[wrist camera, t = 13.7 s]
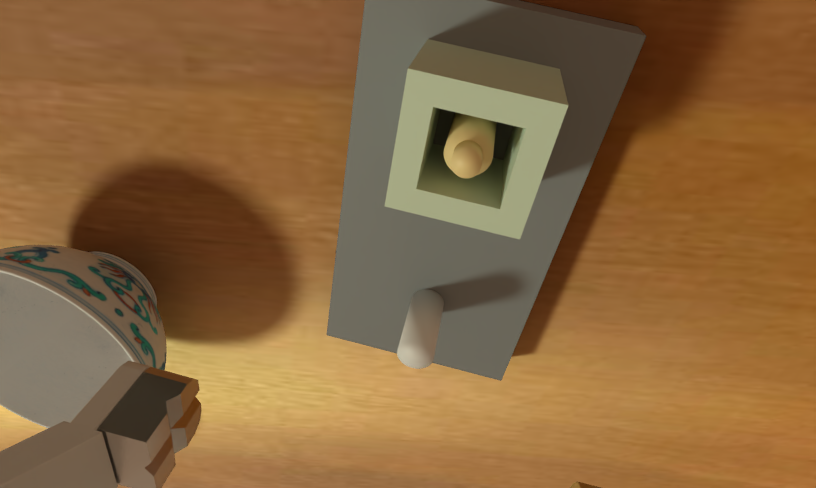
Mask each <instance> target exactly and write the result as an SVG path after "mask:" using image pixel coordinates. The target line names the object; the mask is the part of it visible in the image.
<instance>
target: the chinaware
mask: <svg viewBox="0 0 816 488" xmlns="http://www.w3.org/2000/svg"><path fill="white" fill-rule="evenodd" d="M127 361H132V362H136V363H140V364H144V365H147V366H151V367H154V368H157V369H161V370H165V363H166V337H165V331H164V326H163V323H162V320H161V317H160V314H159V312H158V309H157V298H156V294H155V292H154V289H153V287H152V285H151V284H150V282H149V281H148V280H147V278H146V277H145V276H144V275H143V274H142V273H141V272H140V271H139V270H138V269H137V268H136V267H134V266H133V265H132V264H130V263H129V262H127V261H125V260H124V259H122V258H120V257H117V256H115V255H112V254H109V253H105V252H97V251H94V252H86V251H82V250H78V249H74V248H68V247H62V246H52V245H26V246H16V247H10V248H4V249H0V405H1V406H3V407H5V408H6V409H8V410H10V411H12V412H14V413H15V414H17V415H19V416H21V417H23V418H25V419H27V420H29V421H32V422H34V423H36V424H39V425H41V426H44V427H46V428H50V427H52V426H54V425H57V424H59V423H61V422H63V421H65V422H69V423H70V422H71V421H72V420H73V419H74V418H75V417H76V416H77V414H78V413H79V412H80V411H81V410H82V409H83V408H84V406H85V405H86V404H87V403H88V402H89V401H90V400H91V398H92V397H93V396H94V395H95V394H96V393H97V392H98V391H99V389H100V388H101V387H102V386H103V385H104V384H105V383H106V381H107V380H108V379H109V378H110V377H111V376H112V375H113V373H114V372H115V371H116V370H117V369H118V368H119V367H120V366H121V365H123V364H124V363H126V362H127Z"/></svg>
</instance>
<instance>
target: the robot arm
mask: <svg viewBox="0 0 816 488" xmlns="http://www.w3.org/2000/svg"><path fill="white" fill-rule="evenodd" d="M198 391H199V384H198V380H196V379H193V378H189V377H186V376H182V375H178V374H175V373H171V372H168V371H164V370H161V369H157V368H154V367H151V366H147V365H144V364H140V363H136V362H132V361H127V362H126V363H124V364H123V365H121V366H120V367H119V368H118V369H117V370H116V371H115V372H114V373H113V375H112V376H111V377H110V378H109V379H108V380H107V381H106V383H105V384H104V385H103V386H102V387H101V388H100V389H99V391H98V392H97V393H96V394H95V395H94V396H93V397H92V398H91V400H90V401H89V402H88V403H87V404H86V405H85V406H84V408H83V409H82V410H81V411H80V412H79V413H78V414H77V416H76V417H75V418H74V419H73V420H72V421H71V422H70V423H69V422H65V421H63V422H61V423H59V424H57V425H54V426H52V427H50V428H48V429H46V430H44V431H42V432H40V433H38V434H36V435H34V436H32V437H30V438H28V439H25V440H23V441H21V442H19V443H17V444H15V445H13V446H11V447H9V448H7V449H5V450H3V451H1V452H0V488H117V487H118V485H117V484H119V485H123V486H127V487H131V488H162V486H163V484H164V483H165V481H166V480H167V478H168V476H169V475H170V473H171V472H172V470H173V468H174V467H175V465H176V464H175V453H176V452H178V451H180V450H181V449H183V448H185V447H187V446H188V444H189V442H190V441H191V439H192V437H193V436H194V434H195V431H196V429H197V426H198V424H199V421H200V416H201V403H200V402H199V401H198V399H197V398H196V397H195V396H196V394H197V393H198ZM570 488H601V487H597V486H593V485H589V484H585V483H581V482H575V483H573V484H572V485H571V487H570Z"/></svg>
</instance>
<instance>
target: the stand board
mask: <svg viewBox="0 0 816 488" xmlns="http://www.w3.org/2000/svg"><path fill="white" fill-rule="evenodd" d="M645 38H646V35H645V34H644V33H643V32H642V31H641V30H640V29H639V28H638V27H637V26H633V25H628V24H624V23H619V22H615V21H610V20H606V19H601V18H597V17H592V16H588V15H583V14H579V13H574V12H570V11H565V10H561V9H556V8H552V7H547V6H543V5H538V4H534V3H529V2H525V1H520V0H365V5H364V14H363V22H362V31H361V40H360V48H359V57H358V66H357V75H356V83H355V92H354V101H353V110H352V118H351V127H350V136H349V144H348V153H347V162H346V171H345V179H344V188H343V197H342V205H341V214H340V223H339V232H338V240H337V249H336V258H335V267H334V275H333V284H332V293H331V301H330V310H329V319H328V328H327V335H329V336H332V337H336V338H340V339H344V340H348V341H352V342H355V343H359V344H363V345H367V346H371V347H374V348H378V349H382V350H386V351H390V352H394V353H397V356H398V358H399V360H400V361H401V362H402V363H403V364H405V365H406V366H409V367H411V368H417V369H420V368H425V367H428V366H429V365H430V364H431V363H436V364H439V365H443V366H447V367H451V368H455V369H459V370H462V371H466V372H470V373H474V374H478V375H481V376H485V377H489V378H493V379H497V380H502V378H503V375H504V373H505V371H506V368H507V366H508V363H509V361H510V359H511V356H512V354H513V352H514V349H515V347H516V344H517V342H518V340H519V337H520V335H521V333H522V330H523V328H524V325H525V323H526V321H527V318H528V316H529V314H530V311H531V309H532V306H533V304H534V302H535V299H536V297H537V295H538V292H539V290H540V287H541V285H542V283H543V280H544V278H545V276H546V273H547V271H548V268H549V266H550V264H551V261H552V259H553V257H554V254H555V252H556V249H557V247H558V245H559V242H560V240H561V238H562V235H563V233H564V230H565V228H566V226H567V223H568V221H569V219H570V216H571V214H572V211H573V209H574V207H575V204H576V202H577V200H578V197H579V195H580V192H581V190H582V188H583V185H584V183H585V181H586V178H587V176H588V173H589V171H590V169H591V166H592V164H593V162H594V159H595V157H596V154H597V152H598V150H599V147H600V145H601V143H602V140H603V138H604V135H605V133H606V131H607V128H608V126H609V124H610V121H611V119H612V116H613V114H614V112H615V109H616V107H617V105H618V102H619V100H620V97H621V95H622V93H623V90H624V88H625V86H626V83H627V81H628V78H629V76H630V74H631V71H632V69H633V67H634V64H635V62H636V59H637V57H638V55H639V52H640V50H641V48H642V45H643V43H644V40H645ZM427 39H430V40H434V41H439V42H443V43H448V44H452V45H456V46H461V47H465V48H470V49H474V50H479V51H483V52H487V53H492V54H496V55H501V56H505V57H510V58H514V59H518V60H523V61H527V62H532V63H536V64H540V65H545V66H549V67H554V68H558V69H560V72H561V76H562V80H563V84H564V89H565V93H566V97H567V101H568V108H567V111H566V114H565V116H564V119H563V122H562V125H561V128H560V130H559V133H558V136H557V139H556V141H555V144H554V147H553V150H552V152H551V155H550V158H549V161H548V163H547V166H546V169H545V172H544V174H543V177H542V180H541V183H540V185H539V188H538V191H537V194H536V196H535V199H534V202H533V205H532V208H531V210H530V213H529V216H528V219H527V221H526V224H525V227H524V230H523V232H522V235H521V238H520V239H516V238H512V237H507V236H503V235H499V234H495V233H491V232H487V231H483V230H479V229H475V228H471V227H467V226H463V225H458V224H454V223H450V222H446V221H442V220H438V219H434V218H430V217H426V216H422V215H418V214H414V213H409V212H405V211H401V210H397V209H393V208H389V207H385V200H386V194H387V188H388V183H389V177H390V171H391V165H392V159H393V153H394V147H395V141H396V135H397V129H398V123H399V117H400V111H401V106H402V100H403V94H404V88H405V82H406V76H407V70H408V67H409V66H410V64H411V63H412V61H413V60H414V59H415V57H416V56H417V54H418V53H419V51H420V50H421V48H422V47H423V45H424V44H425V42H426V41H427ZM513 127H514V126H512V125H508V124H504V123H500V122H495V121H491V120H487V119H482V118H478V117H474V116H470V115H465V114H461V113H457V112H452V111H448V110H444V109H440V112H439V117H438V121H437V126H436V131H435V135H434V140H433V144H438V145H442V146H445V148H444V159H445V162H446V164H447V166H448V167H449V168H450V169H451V170H452V171H453V172H454V173H455V174H456V175H457V176H459V177H461V178H472V177H474V176H476V175H479V174H481V173H483V172H484V171H485V170H486V169H487V168H488V167H489V166H490V164H491V162H492V159H493V158H497V159H501V160H503V159H504V156H505V153H506V150H507V146H508V143H509V140H510V137H511V133H512V130H513Z"/></svg>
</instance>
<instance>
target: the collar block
mask: <svg viewBox="0 0 816 488" xmlns="http://www.w3.org/2000/svg"><path fill="white" fill-rule="evenodd" d="M567 108H568V101H567V97H566V93H565V89H564V84H563V80H562V76H561V72H560V69H558V68H554V67H549V66H545V65H540V64H536V63H532V62H527V61H523V60H518V59H514V58H510V57H505V56H501V55H496V54H492V53H487V52H483V51H479V50H474V49H470V48H465V47H461V46H456V45H452V44H448V43H443V42H439V41H434V40H430V39H427V41H426V42H425V44H424V45H423V47H422V48H421V50H420V51H419V53H418V54H417V56H416V57H415V59H414V60H413V61H412V63H411V64H410V66H409V67H408V70H407V76H406V82H405V88H404V94H403V100H402V106H401V111H400V117H399V123H398V129H397V135H396V141H395V147H394V153H393V159H392V165H391V171H390V177H389V183H388V188H387V194H386V200H385V207H389V208H393V209H397V210H401V211H405V212H409V213H414V214H418V215H422V216H426V217H430V218H434V219H438V220H442V221H446V222H450V223H454V224H458V225H463V226H467V227H471V228H475V229H479V230H483V231H487V232H491V233H495V234H499V235H503V236H507V237H512V238H516V239H520V238H521V235H522V232H523V230H524V227H525V224H526V221H527V219H528V216H529V213H530V210H531V208H532V205H533V202H534V199H535V196H536V194H537V191H538V188H539V185H540V183H541V180H542V177H543V174H544V172H545V169H546V166H547V163H548V161H549V158H550V155H551V152H552V150H553V147H554V144H555V141H556V139H557V136H558V133H559V130H560V128H561V125H562V122H563V119H564V116H565V114H566V111H567ZM440 109H444V110H448V111H452V112H457V113H461V114H465V115H470V116H474V117H478V118H482V119H487V120H491V121H495V122H500V123H504V124H508V125H512V126H514V127H513V130H512V133H511V137H510V140H509V143H508V146H507V150H506V153H505V156H504V159H503V160H501V159H497V158H493V159H492V162H491V164H490V166H489V167H488V168H487V169H486V170H485V171H484V172H483V173H481V174H479V175H476V176H474V177H472V178H461V177H459V176H457V175H456V174H455V173H454V172H453V171H452V170H451V169H450V168H449V167H448V166H447V164H446V162H445V159H444V148H445V146H442V145H438V144H433V140H434V135H435V131H436V126H437V121H438V117H439V112H440Z"/></svg>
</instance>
